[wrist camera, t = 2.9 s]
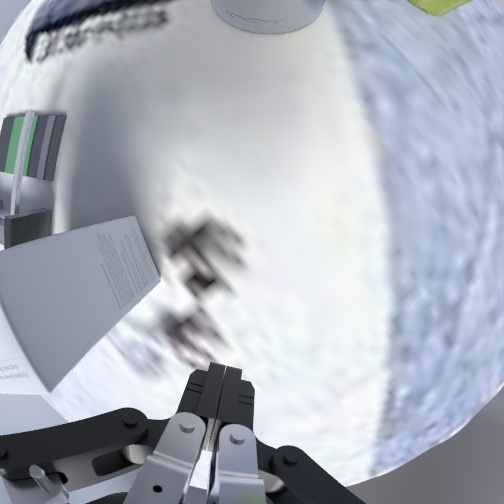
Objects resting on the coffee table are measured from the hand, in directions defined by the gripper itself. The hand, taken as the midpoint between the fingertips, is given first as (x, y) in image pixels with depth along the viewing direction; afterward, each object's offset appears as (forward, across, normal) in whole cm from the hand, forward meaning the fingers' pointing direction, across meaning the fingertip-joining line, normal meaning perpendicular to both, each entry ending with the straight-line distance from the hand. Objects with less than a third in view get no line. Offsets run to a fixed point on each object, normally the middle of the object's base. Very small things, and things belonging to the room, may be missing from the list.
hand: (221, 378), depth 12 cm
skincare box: (+10, +11, 0) cm, 15 cm away
